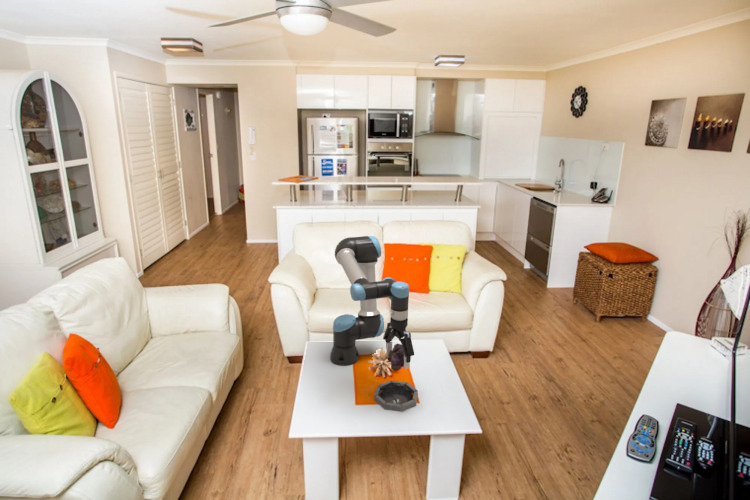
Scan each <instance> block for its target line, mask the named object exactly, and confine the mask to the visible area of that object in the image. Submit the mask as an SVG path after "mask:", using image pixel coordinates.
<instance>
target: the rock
mask: <svg viewBox="0 0 750 500" xmlns="http://www.w3.org/2000/svg"><path fill="white" fill-rule="evenodd" d="M407 353H408V352H407ZM404 355H405V352H404V349H403V346H402V344H401V343H398V342H397V343H395V344H394V345H393V347H392V350H391V351H390V353H389V356H387V361H388V362H389V363H390V370H391V371H393V372H395V371H396V372H397V371H400V370H401V369H402V368H404Z"/></svg>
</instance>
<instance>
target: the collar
mask: <svg viewBox="0 0 750 500" xmlns="http://www.w3.org/2000/svg"><path fill="white" fill-rule="evenodd" d="M376 386H377V387H376V389H375V392H374V396H373V401H374V402H376V403H377V404H378V405H379V406H380V407H381V408H382V409H383V410H388V411H395V412H404V411H406V410H409V409H412V408H414V407H416V406H417V402H418V396H419V395H418V394H419V391H418V389H417V388H415V387H414V386H413V385H412V384H410V383H409V382H407V381H398V380H397V381H396V380H389V381H386V382H382V383H381V384H378V385H376Z"/></svg>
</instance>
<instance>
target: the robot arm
mask: <svg viewBox="0 0 750 500" xmlns="http://www.w3.org/2000/svg"><path fill="white" fill-rule="evenodd" d="M381 256H382V248H381V244H380V241H379V239H378V238H377V237H376V236H374V235H364V236H350V237H345V238H342V240H340V241H339V242H338V243H337V245H336V247H335V249H334V258H335V260H336V261H337V263H338V264H339V265H340V266H341V267H342V269H343V271H344V273H345V274H346V277H347V279H348V281H349V283H350V287H349V288H350V290H349V292H350V296H351V299H352V300H353V301H354V302H358V301H359V304H360V305H359V306H360V310H359V311H358V313H357V316H355V315H354V314H349V313H348V314H346V313H345V314H342V315H339V316H337V317H336V318H335V319H334V320H333V325H332V330H333V331H332V334H333V340H332V341H333V345H332V348H331V351H330V353H329V357H330V358H329V359H330V361H331V363H333V364H334V365H337V366H350V365H353V364H355V363H357V362H358V361H359V358H360V357H359V350H358V348H357V345H356V341H357V340H358V341H359V340H364V339H374V338H378V337H380V336H381V335H382V334H383V337H382V339H383V340H385V349H386V351H385V355H386V357H389V353H390V351H391V350H393V339H394V338H395V337H396V338H398V340H399V342H400V344H401V345H402V346H403V349H404V352H405V355H404V367H403V369H404V370H407V369H409V368H410V367H411V364H410V363H411V362H412V361H411V359H412V357H413V356H415V350H414V346H413V342H412V338H411V337H412V335H411V332H407V331H406V329H407V327H408V325H409V324H408V323H409V321H408V320H409V318H408V317H409V298H410V296H409V295H410V287H409V286H410V285H409V284H408V283H406V282H404V281H396V280H395V279H394V278H392V277H389V276H388V277H385V278H383V279H382V280H381V281H378V280H377V281H376V264H377V263H378V259H379V258H381ZM385 298H388V299H389V300H390V319H389V321H390V322H387V324H386V329H385V321H384V316H383V315H382V314H381V312H380V311H379V310H378V309H377V300H378V299H385ZM384 330H385V331H384ZM407 352H408V353H407Z"/></svg>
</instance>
